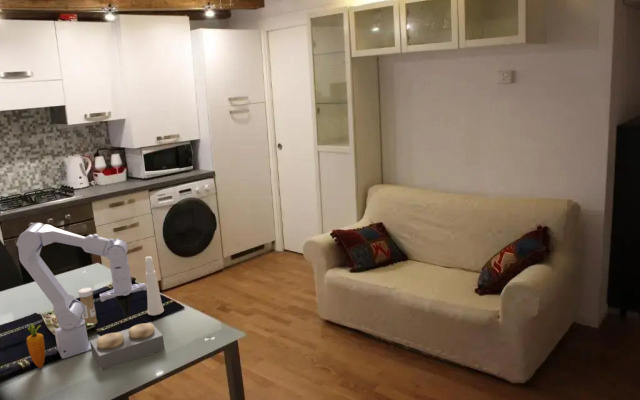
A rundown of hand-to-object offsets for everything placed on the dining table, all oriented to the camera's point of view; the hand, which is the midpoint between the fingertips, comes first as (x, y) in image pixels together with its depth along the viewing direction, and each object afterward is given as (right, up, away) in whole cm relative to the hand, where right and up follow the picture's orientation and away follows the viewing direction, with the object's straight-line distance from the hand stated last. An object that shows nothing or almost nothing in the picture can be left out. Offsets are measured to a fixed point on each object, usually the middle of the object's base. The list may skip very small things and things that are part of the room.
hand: (126, 314), depth 185 cm
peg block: (+2, -11, -3) cm, 12 cm away
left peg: (-2, -12, -6) cm, 14 cm away
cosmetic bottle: (+2, -4, +25) cm, 25 cm away
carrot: (-23, -15, -10) cm, 29 cm away
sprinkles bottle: (-19, -7, +17) cm, 27 cm away
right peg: (+6, -10, 0) cm, 12 cm away
